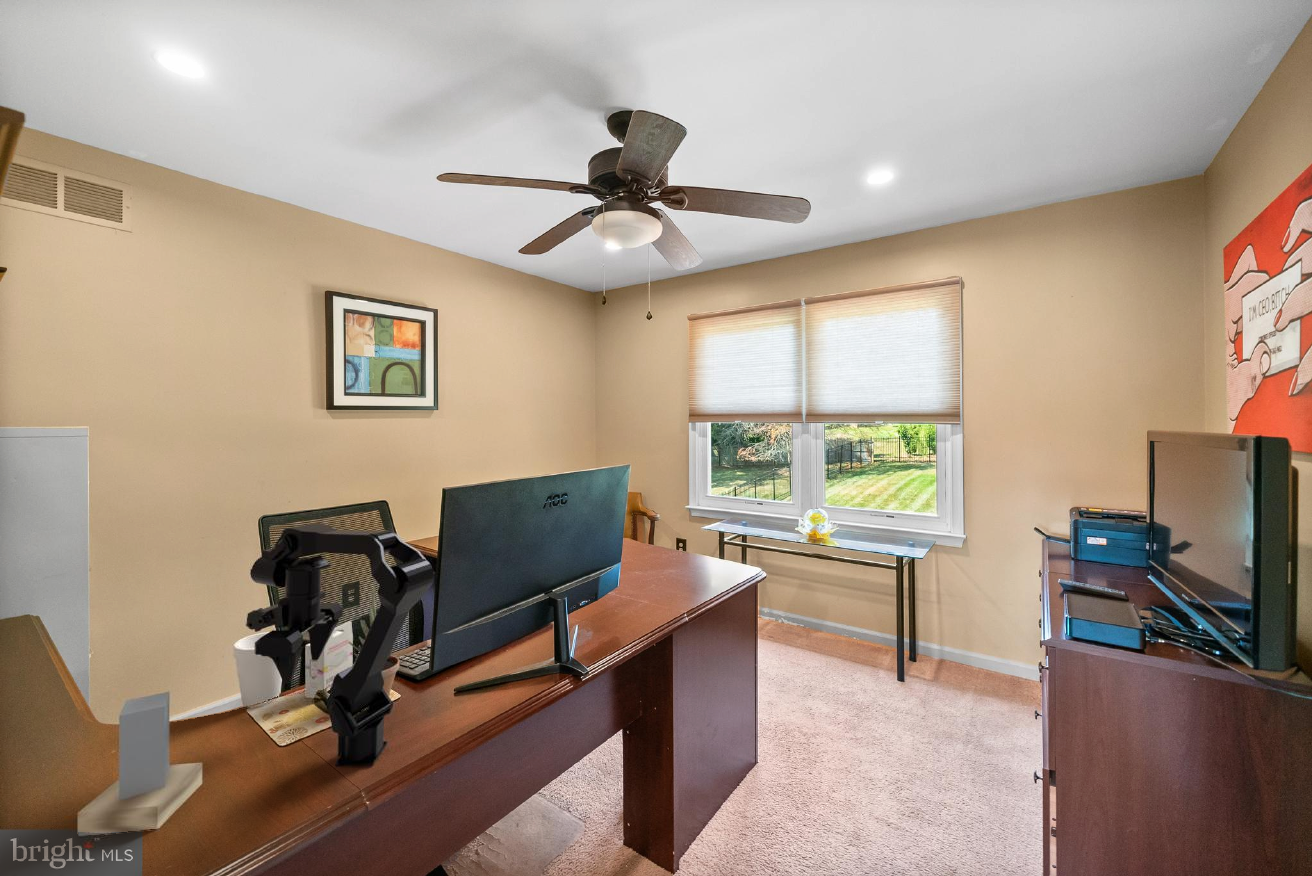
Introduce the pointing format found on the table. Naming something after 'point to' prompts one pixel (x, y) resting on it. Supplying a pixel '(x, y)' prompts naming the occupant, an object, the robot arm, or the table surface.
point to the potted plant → (391, 661)
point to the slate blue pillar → (143, 745)
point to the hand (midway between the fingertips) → (301, 670)
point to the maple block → (140, 803)
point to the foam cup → (255, 673)
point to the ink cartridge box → (329, 660)
